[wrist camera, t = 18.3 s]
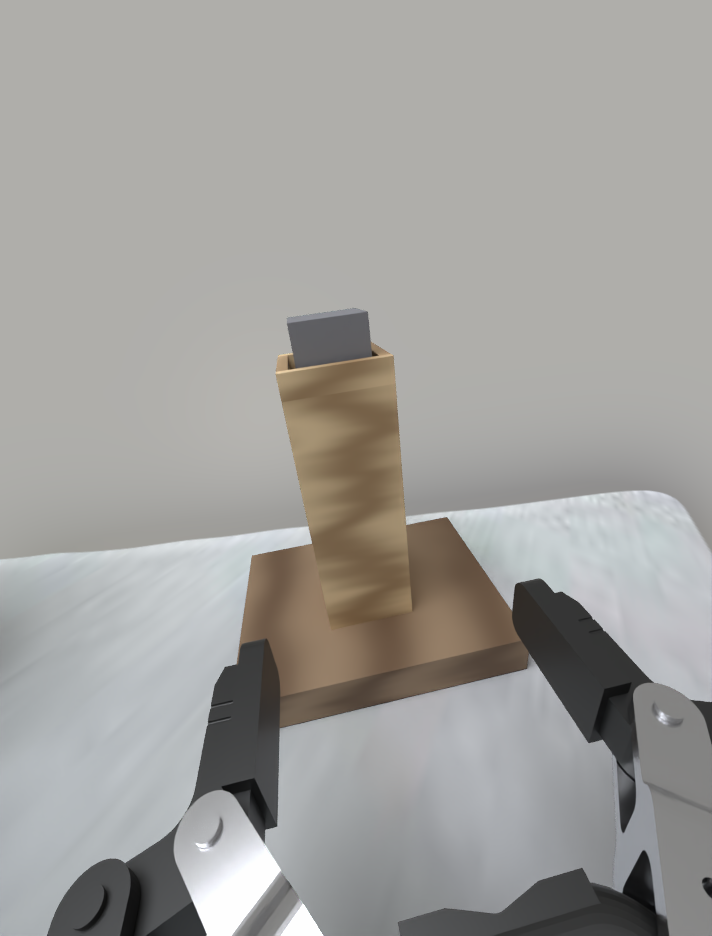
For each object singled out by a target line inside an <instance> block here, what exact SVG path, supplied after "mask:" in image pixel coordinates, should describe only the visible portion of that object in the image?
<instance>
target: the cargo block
mask: <svg viewBox="0 0 712 936" xmlns="http://www.w3.org/2000/svg"><path fill="white" fill-rule="evenodd" d="M287 325H288V330H289V335H290V341H291V346H292V351H293V357H294V362H295V367H296V369H297V368H304V367H310V366H317V365H323V364H329V363H336V362H342V361H348V360H355V359H361V358H368V357H372V350H371V341H370V330H369V320H368V312H367V311H363V310H360V309H356V308H352V309H345V310H338V311H331V312H324V313H317V314H310V315H303V316H296V317H289V318H287Z"/></svg>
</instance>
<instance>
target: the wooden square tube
mask: <svg viewBox="0 0 712 936" xmlns="http://www.w3.org/2000/svg"><path fill="white" fill-rule="evenodd" d="M371 350H372V357H368V358H361V359H355V360H348V361H342V362H336V363H329V364H323V365H317V366H310V367H304V368H297V369H296V367H295V362H294V357H293V353H289V354H283V355H278V360H277V368H276V378H277V383H278V387H279V392H280V396H281V401H282V406H283V410H284V415H285V419H286V424H287V429H288V434H289V438H290V442H291V447H292V452H293V457H294V461H295V466H296V470H297V475H298V480H299V484H300V489H301V493H302V498H303V503H304V507H305V512H306V517H307V521H308V526H309V530H310V535H311V540H312V544H313V549H314V553H315V558H316V563H317V567H318V572H319V576H320V581H321V586H322V590H323V595H324V600H325V604H326V609H327V613H328V618H329V623H330V627H331V630H334V629H338V628H343V627H347V626H352V625H356V624H361V623H365V622H369V621H374V620H378V619H383V618H387V617H391V616H396V615H400V614H405V613H409V612H412V600H411V586H410V572H409V559H408V545H407V532H406V518H405V506H404V492H403V478H402V464H401V451H400V438H399V424H398V412H397V411H398V410H397V397H396V383H395V370H394V357H393V355H392V354H390V353H388V352H387V351H385V350H383V349H382V348H380V347H379V346H377V345H375V344H374V343H372V342H371Z"/></svg>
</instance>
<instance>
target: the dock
mask: <svg viewBox="0 0 712 936" xmlns="http://www.w3.org/2000/svg"><path fill="white" fill-rule="evenodd" d="M406 532H407V545H408V559H409V572H410V586H411V600H412V612H409V613H405V614H400V615H396V616H391V617H387V618H383V619H378V620H374V621H369V622H365V623H361V624H356V625H352V626H347V627H343V628H338V629H334V630H331V627H330V623H329V618H328V613H327V609H326V604H325V600H324V595H323V590H322V586H321V581H320V576H319V572H318V567H317V563H316V558H315V553H314V549H313V544H309V545H304V546H299V547H294V548H289V549H283V550H278V551H273V552H268V553H263V554H258V555H253V556H252V559H251V566H250V573H249V581H248V588H247V595H246V602H245V609H244V616H243V623H242V630H241V637H240V644H239V651H238V658H237V664H238V660H239V653H240V647H241V645H242V644H243V643H247V642H252V641H256V640H261V639H266V638H267V639H268V641H269V644H270V647H271V650H272V653H273V656H274V659H275V663H276V666H277V669H278V673H279V679H280V728H281V727H286V726H290V725H294V724H298V723H302V722H306V721H311V720H315V719H319V718H323V717H327V716H331V715H335V714H340V713H344V712H348V711H352V710H356V709H360V708H365V707H369V706H373V705H377V704H381V703H385V702H390V701H394V700H398V699H402V698H406V697H410V696H415V695H419V694H423V693H427V692H431V691H435V690H439V689H444V688H448V687H452V686H456V685H460V684H464V683H469V682H473V681H477V680H481V679H485V678H489V677H494V676H498V675H502V674H506V673H510V672H514V671H519V670H523V669H527V663H528V655H529V652H528V650H527V649H526V647H525V646H524V644H523V643H522V641H521V639H520V638H519V636H518V635H517V633H516V631H515V628H514V625H513V621H512V611H511V609H510V608H509V606H508V605H507V604H506V602H505V601H504V599H503V598H502V596H501V595H500V593H499V592H498V590H497V589H496V588H495V586H494V585H493V583H492V582H491V580H490V579H489V577H488V576H487V575H486V573H485V572H484V570H483V569H482V567H481V566H480V564H479V563H478V561H477V560H476V559H475V557H474V556H473V554H472V553H471V551H470V550H469V548H468V547H467V546H466V544H465V543H464V541H463V540H462V538H461V537H460V535H459V534H458V532H457V531H456V530H455V528H454V527H453V525H452V524H451V522H450V521H449V519H448V518H447V517H445V518H440V519H435V520H430V521H425V522H420V523H415V524H410V525H406Z"/></svg>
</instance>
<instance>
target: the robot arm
mask: <svg viewBox="0 0 712 936" xmlns="http://www.w3.org/2000/svg"><path fill="white" fill-rule="evenodd" d="M512 621H513V625H514V628H515V631H516V633H517V635H518V636H519V638H520V639H521V641H522V643H523V644H524V646H525V647H526V649H527V650H528V652H529V653H530V655H531V656H532V658H533V659H534V661H535V662H536V664H537V665H538V667H539V668H540V670H541V671H542V673H543V674H544V676H545V678H546V679H547V681H548V682H549V684H550V685H551V687H552V688H553V690H554V691H555V693H556V694H557V696H558V697H559V699H560V700H561V702H562V703H563V705H564V706H565V708H566V709H567V711H568V713H569V714H570V716H571V717H572V719H573V720H574V722H575V723H576V725H577V726H578V728H579V729H580V731H581V732H582V734H583V735H584V737H585V738H586V740H587V741H588V743H591V742H595V741H599V740H604V742H605V743H606V745H607V746H608V748H609V749H610V750H611V752H612V767H613V785H614V804H615V822H616V848H615V855H614V868H613V883H614V889H611V888H609V887H606V886H603V885H599V884H595V883H590V882H589V880H588V878H587V876H586V874H585V872H584V870H583V868H581V869H577V870H574V871H570V872H567V873H564V874H560V875H557V876H553V877H550V878H547V879H543V880H540V881H538V882H537V883H536V884H534V885H533V886H532V887H531V888H530V889H528V890H527V891H526V892H525V893H524V894H522V895H521V896H520V897H519V898H518V899H516V900H515V901H514V902H513V903H512V904H511V905H509V906H508V907H507V908H506V909H505V910H503V911H502V912H500V913H497V914H492V913H483V912H474V911H465V910H456V909H446V908H444V909H441V910H438V911H434V912H431V913H427V914H424V915H421V916H417V917H414V918H410V919H407V920H404V921H400V922H398V925H399V931H400V936H712V702H704V701H694V700H689V699H688V698H687V697H686V696H684V695H683V694H681V693H680V692H678V691H676V690H674V689H672V688H670V687H668V686H665V685H662V684H658V683H654V682H653V681H651V680H650V679H649V678H648V677H647V676H646V675H645V674H644V673H643V672H642V671H641V670H640V668H639V667H638V666H637V665H636V664H635V663H634V662H633V661H632V660H631V659H630V658H629V656H628V655H627V654H626V653H625V652H624V651H623V650H622V649H621V648H620V647H619V646H618V645H617V643H616V642H615V641H614V640H613V639H612V638H611V637H610V636H609V635H608V634H607V633H606V631H605V632H604V631H603V628H602V627H601V626H600V625H599V624H598V623H597V622H596V621H595V620H593V619H592V616H591V615H590V614H589V613H588V612H587V611H586V610H585V609H584V608H583V607H582V605H581V604H580V603H579V602H577V601H576V600H574V599H572V598H571V597H569V596H568V595H566V594H564V593H563V592H558V593H554V592H553V591H552V590H551V588H550V587H549V586H548V585H547V584H546V583H545V582H544V581H543V580H542V579H534V580H530V581H525V582H520V583H517V584H516V585H515V590H514V600H513V611H512ZM279 729H280V679H279V673H278V669H277V666H276V663H275V659H274V656H273V653H272V650H271V647H270V644H269V641H268V639H267V638H266V639H261V640H256V641H252V642H247V643H243V644H242V645H241V647H240V653H239V660H238V664H237V665H232V666H228V667H225V668H224V670H223V672H222V673H221V675H220V677H219V679H218V681H217V682H216V684H215V687H214V692H213V697H212V703H211V709H210V713H209V718H208V726H207V729H206V734H205V740H204V745H203V750H202V755H201V761H200V766H199V771H198V777H197V782H196V787H195V791H194V795H193V798H192V801H191V803H190V805H189V807H188V810H187V811H186V813H185V815H184V816H183V818H182V819H181V820H180V822H179V823H178V824H177V825H176V827H175V828H174V829H173V830H172V831H171V832H170V833H169V834H168V835H167V836H165V837H164V838H163V839H161V840H160V841H159V842H157V843H156V844H154V845H152V846H151V847H149V848H148V849H146V850H145V851H143V852H142V853H140V854H139V855H137V856H136V857H134V858H133V859H131V860H130V861H128V862H126V863H124V862H123V861H121V860H119V859H106V860H103V861H101V862H98V863H97V864H95V865H93V866H92V867H90V868H89V869H88V870H87V871H85V872H84V873H83V874H82V875H81V876H80V877H79V878H78V879H77V880H76V881H75V882H74V884H73V885H72V886H71V887H70V889H69V890H68V891H67V893H66V894H65V896H64V897H63V899H62V901H61V902H60V904H59V906H58V908H57V910H56V912H55V915H54V917H53V920H52V922H51V925H50V928H49V931H48V934H47V936H206V935H208V936H323V935H322V933H321V932H320V930H319V928H318V927H317V925H316V924H315V922H314V920H313V919H312V917H311V916H310V914H309V913H308V911H307V909H306V908H305V906H304V905H303V903H302V901H301V900H300V898H299V897H298V895H297V894H296V892H295V890H294V889H293V887H292V886H291V885H290V883H289V882H288V881H287V879H286V878H285V876H284V875H283V873H282V872H281V870H280V868H279V867H278V865H277V864H276V862H275V860H274V859H273V857H272V856H271V854H270V852H269V851H268V849H267V848H266V846H265V830H266V829H270V828H274V827H277V815H278V772H279Z"/></svg>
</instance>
